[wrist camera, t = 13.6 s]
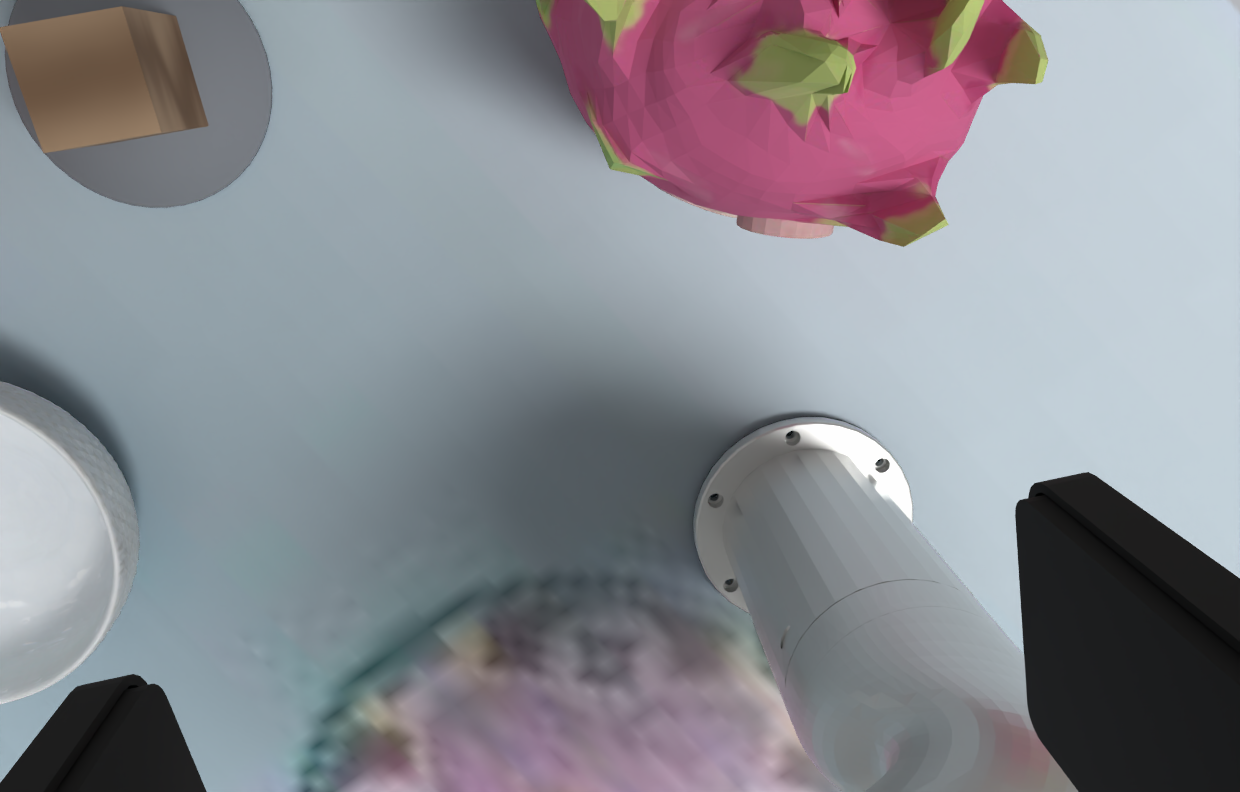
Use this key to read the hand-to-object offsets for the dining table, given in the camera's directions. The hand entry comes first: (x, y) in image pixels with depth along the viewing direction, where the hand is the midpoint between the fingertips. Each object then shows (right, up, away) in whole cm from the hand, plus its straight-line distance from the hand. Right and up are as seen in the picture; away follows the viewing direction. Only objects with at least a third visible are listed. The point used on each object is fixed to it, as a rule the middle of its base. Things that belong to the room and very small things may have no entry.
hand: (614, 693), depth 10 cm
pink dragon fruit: (+5, +20, +36) cm, 42 cm away
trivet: (-23, +18, +35) cm, 45 cm away
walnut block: (-23, +18, +35) cm, 45 cm away
